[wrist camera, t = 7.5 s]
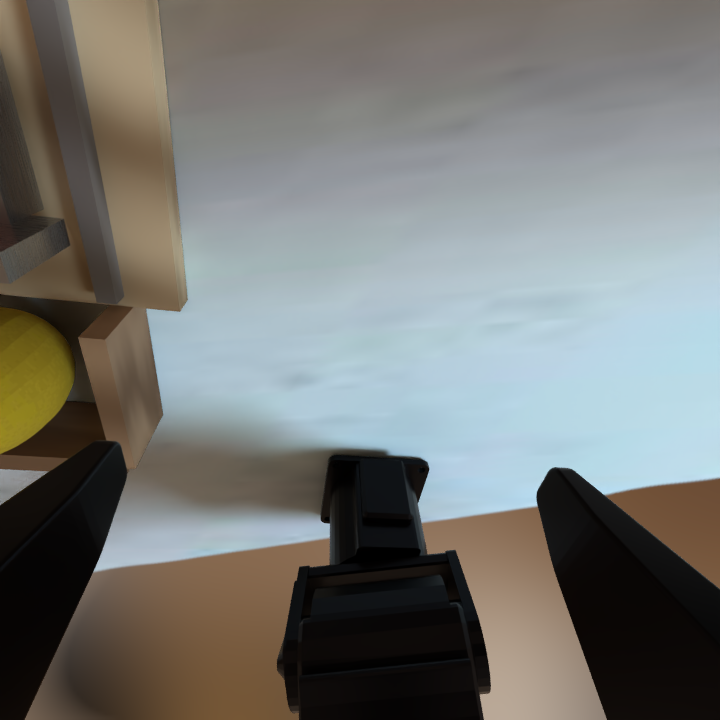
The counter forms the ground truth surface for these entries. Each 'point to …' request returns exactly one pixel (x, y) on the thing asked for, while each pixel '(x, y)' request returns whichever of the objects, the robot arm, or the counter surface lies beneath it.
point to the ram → (21, 199)
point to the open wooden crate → (103, 397)
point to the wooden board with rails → (98, 148)
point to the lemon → (31, 375)
